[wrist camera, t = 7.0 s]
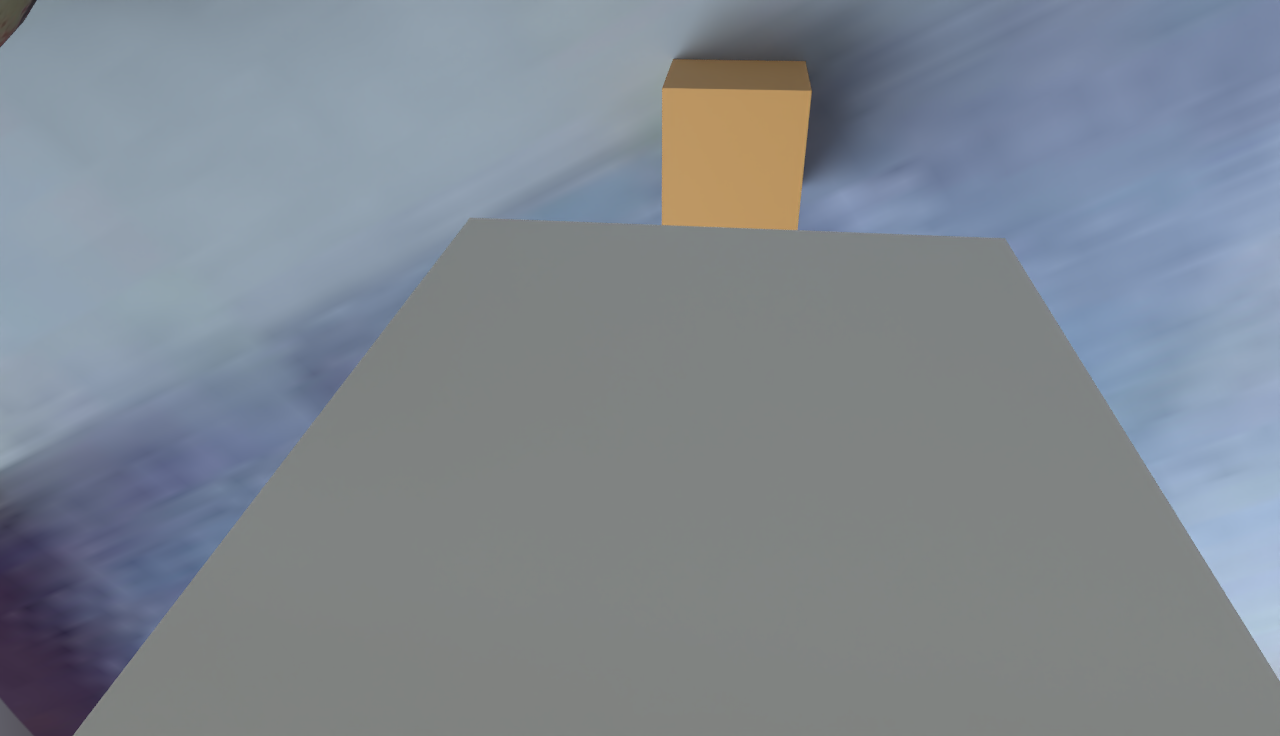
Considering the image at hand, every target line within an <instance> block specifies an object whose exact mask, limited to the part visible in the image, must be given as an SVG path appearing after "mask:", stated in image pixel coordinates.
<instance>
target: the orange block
mask: <svg viewBox="0 0 1280 736" xmlns="http://www.w3.org/2000/svg"><path fill="white" fill-rule="evenodd" d="M811 93H812V90H811V85H810V80H809V76H808V71H807V66H806V62H805V61H763V60H692V59H673V61H672V64H671V66H670V69H669V72H668V74H667V77H666V80H665V82H664V85H663V88H662V225H672V226H699V227H727V228H754V229H781V230H797V228H798V219H799V209H800V199H801V190H802V180H803V170H804V161H805V151H806V141H807V132H808V122H809V113H810V103H811Z"/></svg>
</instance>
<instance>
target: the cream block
mask: <svg viewBox="0 0 1280 736" xmlns="http://www.w3.org/2000/svg"><path fill="white" fill-rule="evenodd" d="M73 736H1280V681H1279V679H1278V678H1277V676H1276V675H1275V673H1274V671H1273V670H1272V668H1271V667H1270V665H1269V663H1268V662H1267V660H1266V658H1265V657H1264V655H1263V654H1262V652H1261V650H1260V649H1259V647H1258V646H1257V644H1256V642H1255V641H1254V639H1253V638H1252V636H1251V634H1250V633H1249V631H1248V629H1247V628H1246V626H1245V625H1244V623H1243V621H1242V620H1241V618H1240V617H1239V615H1238V613H1237V612H1236V610H1235V609H1234V607H1233V605H1232V604H1231V602H1230V600H1229V599H1228V597H1227V596H1226V594H1225V592H1224V591H1223V589H1222V588H1221V586H1220V584H1219V583H1218V581H1217V580H1216V578H1215V576H1214V575H1213V573H1212V571H1211V570H1210V568H1209V567H1208V565H1207V563H1206V562H1205V560H1204V559H1203V557H1202V555H1201V554H1200V552H1199V551H1198V549H1197V547H1196V546H1195V544H1194V542H1193V541H1192V539H1191V538H1190V536H1189V534H1188V533H1187V531H1186V530H1185V528H1184V526H1183V525H1182V523H1181V522H1180V520H1179V518H1178V517H1177V515H1176V513H1175V512H1174V510H1173V509H1172V507H1171V505H1170V504H1169V502H1168V501H1167V499H1166V497H1165V496H1164V494H1163V493H1162V491H1161V489H1160V488H1159V486H1158V484H1157V483H1156V481H1155V480H1154V478H1153V476H1152V475H1151V473H1150V472H1149V470H1148V468H1147V467H1146V465H1145V464H1144V462H1143V460H1142V459H1141V457H1140V455H1139V454H1138V452H1137V451H1136V449H1135V447H1134V446H1133V444H1132V443H1131V441H1130V439H1129V438H1128V436H1127V435H1126V433H1125V431H1124V430H1123V428H1122V426H1121V425H1120V423H1119V422H1118V420H1117V418H1116V417H1115V415H1114V414H1113V412H1112V410H1111V409H1110V407H1109V406H1108V404H1107V402H1106V401H1105V399H1104V397H1103V396H1102V394H1101V393H1100V391H1099V389H1098V388H1097V386H1096V385H1095V383H1094V381H1093V380H1092V378H1091V377H1090V375H1089V373H1088V372H1087V370H1086V368H1085V367H1084V365H1083V364H1082V362H1081V360H1080V359H1079V357H1078V356H1077V354H1076V352H1075V351H1074V349H1073V348H1072V346H1071V344H1070V343H1069V341H1068V339H1067V338H1066V336H1065V335H1064V333H1063V331H1062V330H1061V328H1060V327H1059V325H1058V323H1057V322H1056V320H1055V319H1054V317H1053V315H1052V314H1051V312H1050V310H1049V309H1048V307H1047V306H1046V304H1045V302H1044V301H1043V299H1042V298H1041V296H1040V294H1039V293H1038V291H1037V290H1036V288H1035V286H1034V285H1033V283H1032V281H1031V280H1030V278H1029V277H1028V275H1027V273H1026V272H1025V270H1024V269H1023V267H1022V265H1021V264H1020V262H1019V261H1018V259H1017V257H1016V256H1015V254H1014V252H1013V251H1012V249H1011V248H1010V246H1009V244H1008V243H1007V241H1006V240H1005V238H981V237H955V236H929V235H903V234H877V233H851V232H825V231H799V230H773V229H748V228H722V227H696V226H670V225H644V224H618V223H592V222H566V221H540V220H514V219H488V218H469V220H468V221H467V222H466V224H465V225H464V226H463V228H462V229H461V230H460V231H459V233H458V234H457V235H456V237H455V238H454V239H453V241H452V242H451V243H450V245H449V246H448V247H447V248H446V250H445V251H444V252H443V254H442V255H441V256H440V258H439V259H438V260H437V261H436V263H435V264H434V265H433V267H432V268H431V269H430V271H429V272H428V273H427V275H426V276H425V277H424V278H423V280H422V281H421V282H420V284H419V285H418V286H417V288H416V289H415V290H414V291H413V293H412V294H411V295H410V297H409V298H408V299H407V301H406V302H405V303H404V305H403V306H402V307H401V308H400V310H399V311H398V312H397V314H396V315H395V316H394V318H393V319H392V320H391V321H390V323H389V324H388V325H387V327H386V328H385V329H384V331H383V332H382V333H381V335H380V336H379V337H378V338H377V340H376V341H375V342H374V344H373V345H372V346H371V348H370V349H369V350H368V352H367V353H366V354H365V355H364V357H363V358H362V359H361V361H360V362H359V363H358V365H357V366H356V367H355V368H354V370H353V371H352V372H351V374H350V375H349V376H348V378H347V379H346V380H345V382H344V383H343V384H342V385H341V387H340V388H339V389H338V391H337V392H336V393H335V395H334V396H333V397H332V398H331V400H330V401H329V402H328V404H327V405H326V406H325V408H324V409H323V410H322V412H321V413H320V414H319V415H318V417H317V418H316V419H315V421H314V422H313V423H312V425H311V426H310V427H309V428H308V430H307V431H306V432H305V434H304V435H303V436H302V438H301V439H300V440H299V442H298V443H297V444H296V445H295V447H294V448H293V449H292V451H291V452H290V453H289V455H288V456H287V457H286V458H285V460H284V461H283V462H282V464H281V465H280V466H279V468H278V469H277V470H276V472H275V473H274V474H273V475H272V477H271V478H270V479H269V481H268V482H267V483H266V485H265V486H264V487H263V488H262V490H261V491H260V492H259V494H258V495H257V496H256V498H255V499H254V500H253V502H252V503H251V504H250V505H249V507H248V508H247V509H246V511H245V512H244V513H243V515H242V516H241V517H240V518H239V520H238V521H237V522H236V524H235V525H234V526H233V528H232V529H231V530H230V532H229V533H228V534H227V535H226V537H225V538H224V539H223V541H222V542H221V543H220V545H219V546H218V547H217V548H216V550H215V551H214V552H213V554H212V555H211V556H210V558H209V559H208V560H207V562H206V563H205V564H204V565H203V567H202V568H201V569H200V571H199V572H198V573H197V575H196V576H195V577H194V578H193V580H192V581H191V582H190V584H189V585H188V586H187V588H186V589H185V590H184V592H183V593H182V594H181V595H180V597H179V598H178V599H177V601H176V602H175V603H174V605H173V606H172V607H171V608H170V610H169V611H168V612H167V614H166V615H165V616H164V618H163V619H162V620H161V622H160V623H159V624H158V625H157V627H156V628H155V629H154V631H153V632H152V633H151V635H150V636H149V637H148V639H147V640H146V641H145V642H144V644H143V645H142V646H141V648H140V649H139V650H138V652H137V653H136V654H135V655H134V657H133V658H132V659H131V661H130V662H129V663H128V665H127V666H126V667H125V669H124V670H123V671H122V672H121V674H120V675H119V676H118V678H117V679H116V680H115V682H114V683H113V684H112V685H111V687H110V688H109V689H108V691H107V692H106V693H105V695H104V696H103V697H102V699H101V700H100V701H99V702H98V704H97V705H96V706H95V708H94V709H93V710H92V712H91V713H90V714H89V715H88V717H87V718H86V719H85V721H84V722H83V723H82V725H81V726H80V727H79V729H78V730H77V731H76V732H75V734H74V735H73Z"/></svg>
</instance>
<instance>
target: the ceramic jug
mask: <svg viewBox="0 0 1280 736" xmlns="http://www.w3.org/2000/svg"><path fill="white" fill-rule="evenodd" d="M36 1H37V0H0V47H1V46H2V45H3V44H4V43H5V42H6V41H7V39H8V38H9V37H10V36H11V35H12V34H13V33H14V32H15V31H16V29H17V28H18V27H19V26H20V25H21V24H22V23H23V22H24V20H25V18H26V17H27V15H28V14H29V12H30V10H31V9H32V7H33V5H34V4H35V2H36Z"/></svg>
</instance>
